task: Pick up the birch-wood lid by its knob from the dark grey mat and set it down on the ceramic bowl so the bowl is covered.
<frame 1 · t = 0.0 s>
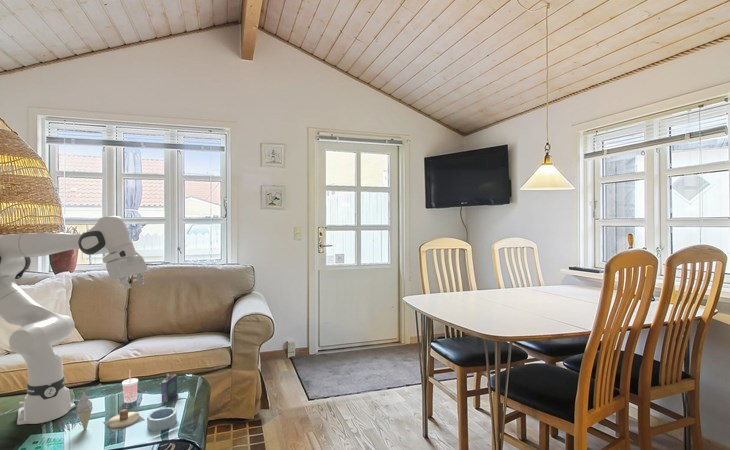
hand: (135, 286, 161), 52 cm above the table, tool tilted 20°, fingers open, 8 cm apart
lid: (124, 421, 156), point 1 cm above the table, touching mat
bowl: (162, 425, 154), on the table
ice cream cone: (85, 431, 151), on the table
mat: (124, 422, 156), on the table
flask: (169, 398, 177), on the table
beverage cup: (130, 402, 174), on the table
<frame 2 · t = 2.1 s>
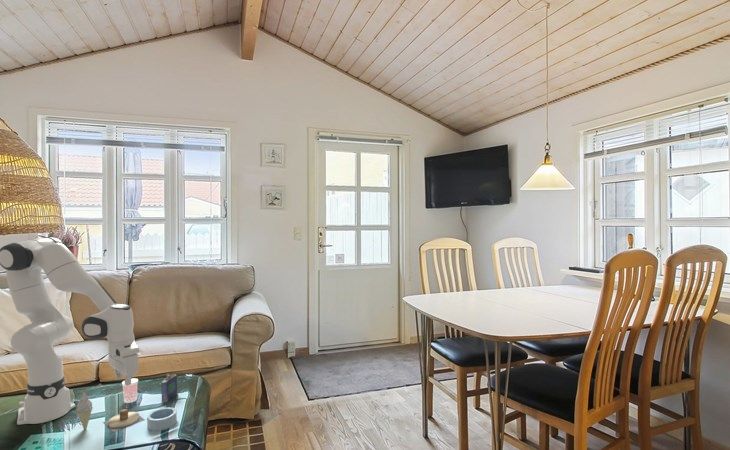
hand: (123, 381, 156), 16 cm above the table, tool pointing down, fingers open, 8 cm apart
nothing on the table moved.
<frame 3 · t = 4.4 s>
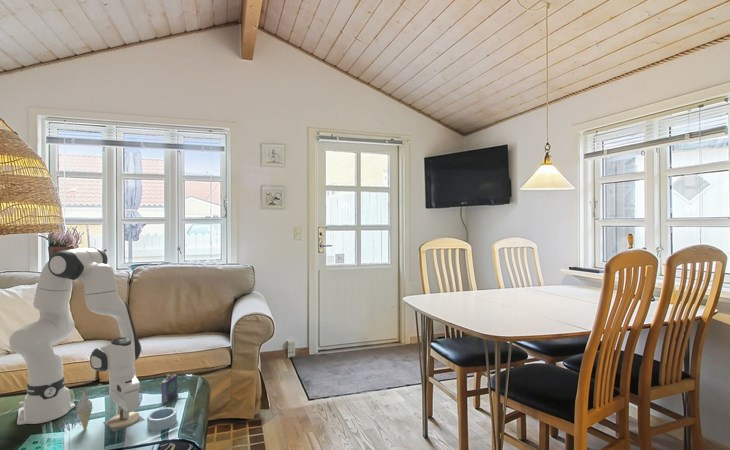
hand: (123, 415, 156), 3 cm above the table, tool pointing down, fingers closed on lid, 3 cm apart
lid: (124, 420, 156), point 1 cm above the table, touching gripper, mat
everything else where it was.
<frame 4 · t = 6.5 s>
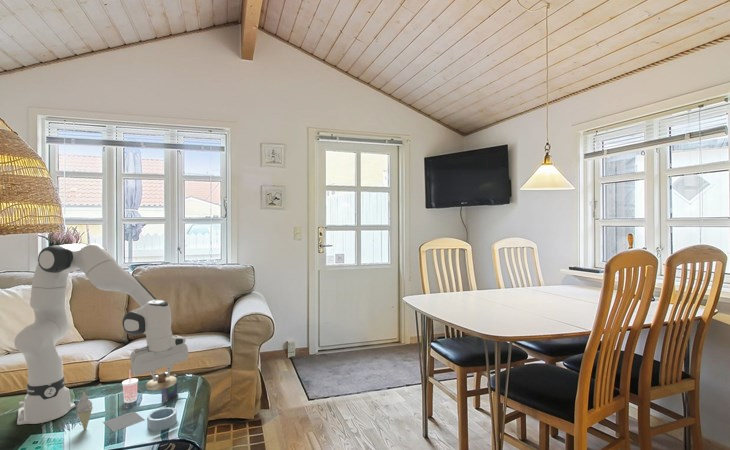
hand: (161, 378, 154), 18 cm above the table, tool pointing down, fingers closed on lid, 3 cm apart
lid: (161, 384, 154), point 16 cm above the table, touching gripper
everything else where it was.
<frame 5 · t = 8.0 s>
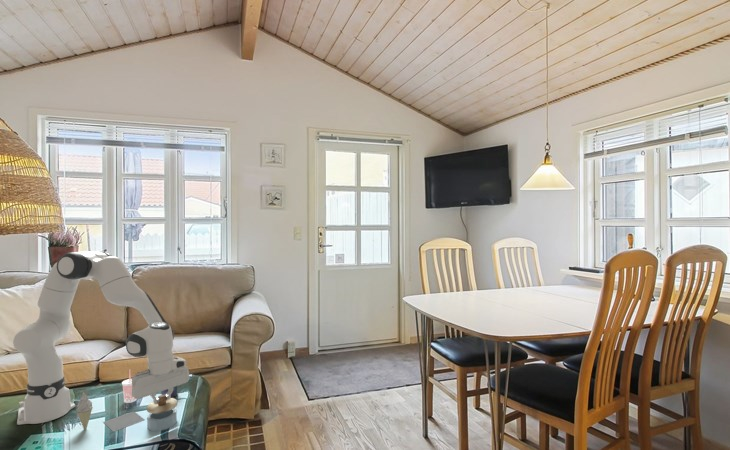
hand: (162, 401, 154), 9 cm above the table, tool pointing down, fingers closed on lid, 3 cm apart
lid: (162, 406, 154), point 7 cm above the table, touching gripper
everything else where it was.
when the fingers open (7 cm above the table, at t = 9.0 s): lid stays where it is, resting on bowl.
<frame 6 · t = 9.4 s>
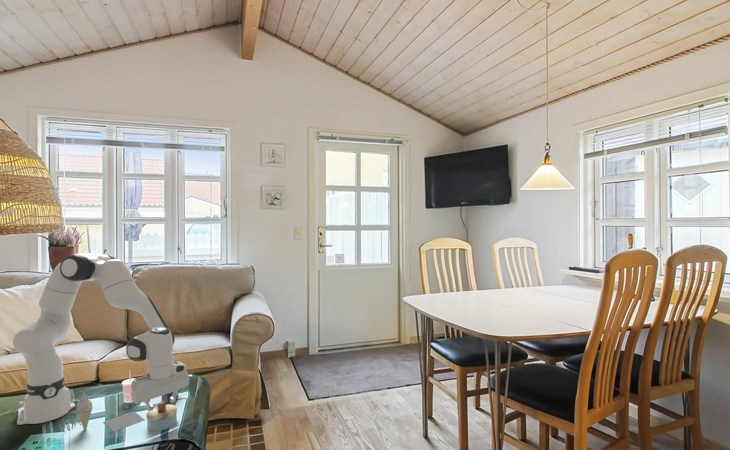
hand: (161, 406, 154), 7 cm above the table, tool pointing down, fingers open, 7 cm apart
lid: (161, 413, 154), point 4 cm above the table, touching bowl
everything else where it was.
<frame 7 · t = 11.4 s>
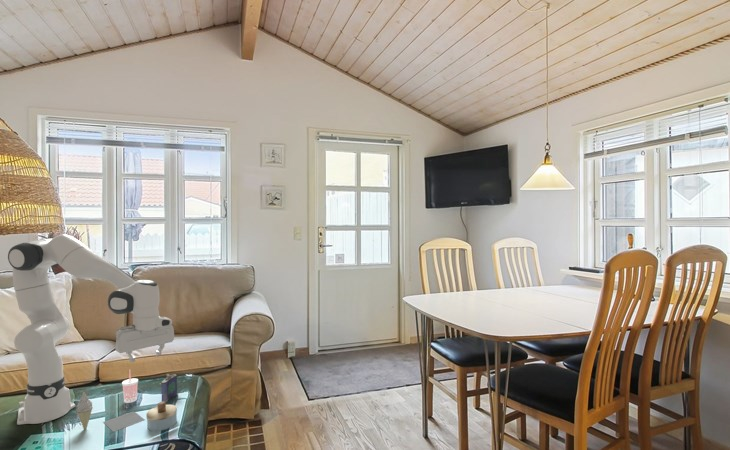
hand: (145, 358, 154), 26 cm above the table, tool pointing down, fingers open, 8 cm apart
nothing on the table moved.
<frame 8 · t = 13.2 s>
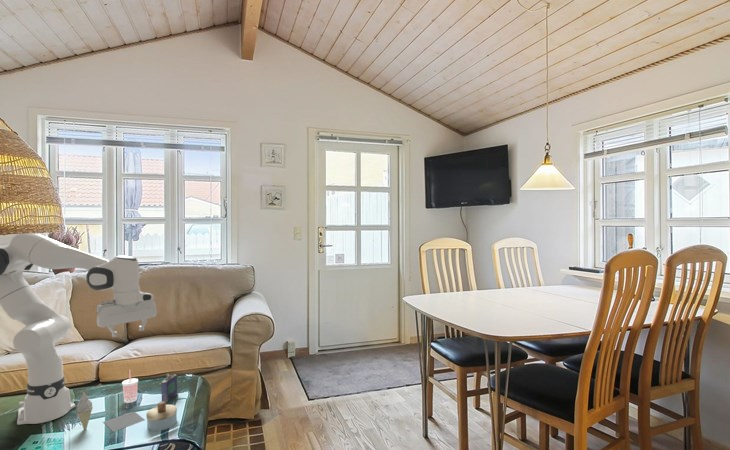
hand: (128, 333, 155), 35 cm above the table, tool pointing down, fingers open, 8 cm apart
nothing on the table moved.
at the end: lid 0.1 cm off-centre on the bowl, point 4.5 cm above the bowl's base; lid tilted 0°; the gripper is holding nothing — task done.
